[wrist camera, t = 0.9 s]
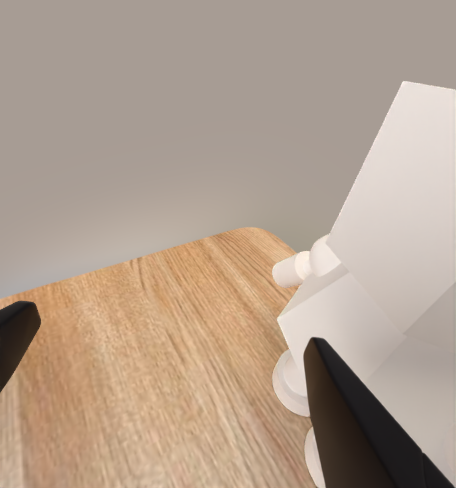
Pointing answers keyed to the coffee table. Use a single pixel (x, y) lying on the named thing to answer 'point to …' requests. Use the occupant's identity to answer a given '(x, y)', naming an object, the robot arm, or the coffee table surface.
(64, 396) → the coffee table surface
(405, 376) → the robot toy
